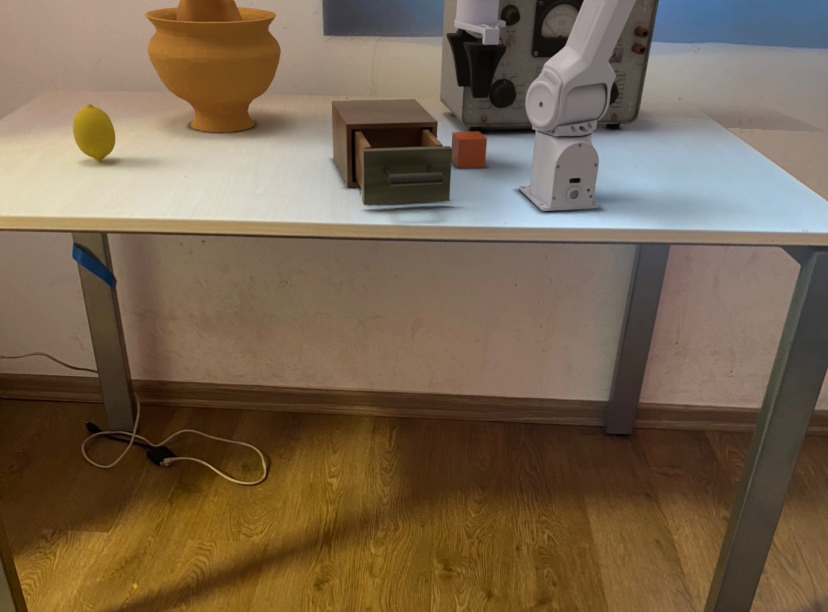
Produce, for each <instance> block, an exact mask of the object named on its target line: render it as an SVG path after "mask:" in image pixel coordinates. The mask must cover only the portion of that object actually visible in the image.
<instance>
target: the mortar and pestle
mask: <svg viewBox="0 0 828 612" xmlns="http://www.w3.org/2000/svg"><path fill="white" fill-rule="evenodd" d="M144 17H146V18H147V20H148V21H149V22H150V23H151V24H152V25H153V26H154V28H155V33H154V34H153V35H152V36H151V38H150V39H149V41H148V44H147V48H146V49H147V54H148V57H149V61H150V63H151V64H152V66H153V68H154V70H155V72H156V73H157V76H158V77H159V79H160V81H161V82H162V84H163V85H164V86H165V88H166V89H167V90H168V91H169V92H171V93H172V94H173V95H174V96H175V97H177V98H179V99H181V100H184V101H186V102H187V103H188V104H189V105H190V106H191V107H192V109H193V111H194V115H193V118H192V121H191V123H190V127H191V128H193V130H196V131H197V130H198V131H201V132H207V133H208V132H209V133H232V132H241V131H245V130H248V129H251V128H252V127H253V126H255V122H254V120H253V119H252V117H251V116H250V113H249V107H250V105H251V104H252V103H253V101H254V100H255V99H257V98H259V97H261V96H262V95H263V94H264V93H265V92H267V91H268V90H269V87H270V86H271V84H272V82H273V81H274V79H275V76H276V73H277V70H278V67H279V64H280V59H281V53H282V51H281V50H282V49H281V46H280V44H279V42H278V40H277V39H276V37H274V35H273V34H272V33H271V31H270V30H269V29H270V25H271V24H272V22H273V21H275V19H276V17H277V13H275V12H273V11H271V10H266V9H259V8H255V7H254V8H253V7H241V6H240V7H239V6H237V4H236V1H235V0H179V2H178V5H177V7H168V8H167V7H165V8H159V9H154V10H150V11H146V12H145V13H144Z"/></svg>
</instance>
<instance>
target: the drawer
mask: <svg viewBox="0 0 828 612" xmlns="http://www.w3.org/2000/svg"><path fill="white" fill-rule="evenodd" d="M451 147H452V146H450V145H443V144H442V142H441V141H440V140H439V139H438V137H437V138H436V137H435V136H434V135H433V134H432V133H431V132H430V131H429V130H428V129H427V128H426V127H422V128H387V129H352V164H353V174H354V176H355V178H356V180H357V182H358V184H359V186H360V187H359V188H360V189H361V195H362V196H361V197H362V204H363V205H364V206H372V205H394V204H395V205H397V204H414V203H434V202H435V203H436V202H437V203H438V202H450V198H451V179H452V163H453V162H452V148H451Z"/></svg>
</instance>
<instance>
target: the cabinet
mask: <svg viewBox="0 0 828 612" xmlns="http://www.w3.org/2000/svg"><path fill="white" fill-rule="evenodd" d="M331 122H332V125H331V126H332V156H333V161H334V163H335V165H336V167H337V169H338V172H339V174H340V175H341V177H342V179H343V182H344V183H345V185H346V187H347V188H360V186H359V184H358V182H357V180H356V178H355V176H354V174H353V164H352V129H387V128H422V127H426V128H427V129H428V130H429V131H430V132H431V133H432V134H433V135H434V136H435V137H436V138H437V139H438V125H439V122H438V120H436V118H434V117H433V116H432V114H431V113H429V112H428V110H426V108H425V107H423V105H421V103H419V101H417V100H416V99H415V98H407V99H406V98H403V99H401V98H399V99H360V100H359V99H357V100H355V99H354V100H353V99H352V100H350V99H349V100H332V101H331Z"/></svg>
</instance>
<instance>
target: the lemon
mask: <svg viewBox="0 0 828 612" xmlns="http://www.w3.org/2000/svg"><path fill="white" fill-rule="evenodd" d="M72 131H73V132H72V133H73V138H74V141H75V143H76V145H77V147H78V148H79V150H80V151H81V152H82V153H83V154H84V155H86V156H88V157H90V158H92V159H94V160H95V161H96V162H99V163H100V162H103V160H104V159H105V158H106V157H108V155H110V154H111V153H112V152H113V150H114V148H115V146H116V131H115V128H114V125H113V122H112V120H111V118H110V116H109V115H108V113H106V112H105V111H104V110H103V109H101V108H99V107H97V106H94V105H93V104H92V103H86V104H85V106H84V107H82V108H80V109H79V110H78V111H77V112H76V113H75V115H74V117H73V123H72Z"/></svg>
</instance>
